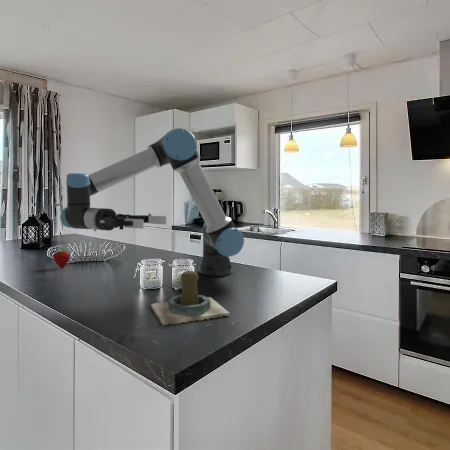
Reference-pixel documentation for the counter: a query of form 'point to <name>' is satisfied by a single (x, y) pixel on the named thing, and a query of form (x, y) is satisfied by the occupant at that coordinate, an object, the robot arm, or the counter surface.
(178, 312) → the ring stand
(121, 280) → the counter surface
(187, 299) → the cork
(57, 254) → the strawberry
